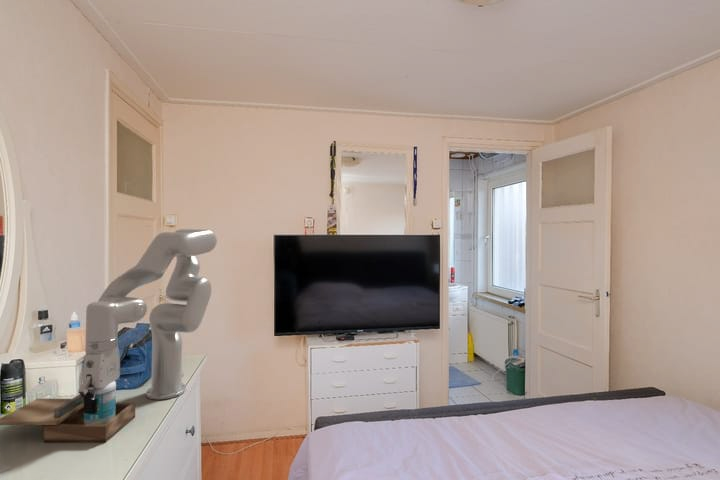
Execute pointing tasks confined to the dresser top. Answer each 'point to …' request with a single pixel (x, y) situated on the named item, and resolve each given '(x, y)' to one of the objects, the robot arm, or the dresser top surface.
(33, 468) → the dresser top surface
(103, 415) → the pill bottle
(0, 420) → the lid
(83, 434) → the box
